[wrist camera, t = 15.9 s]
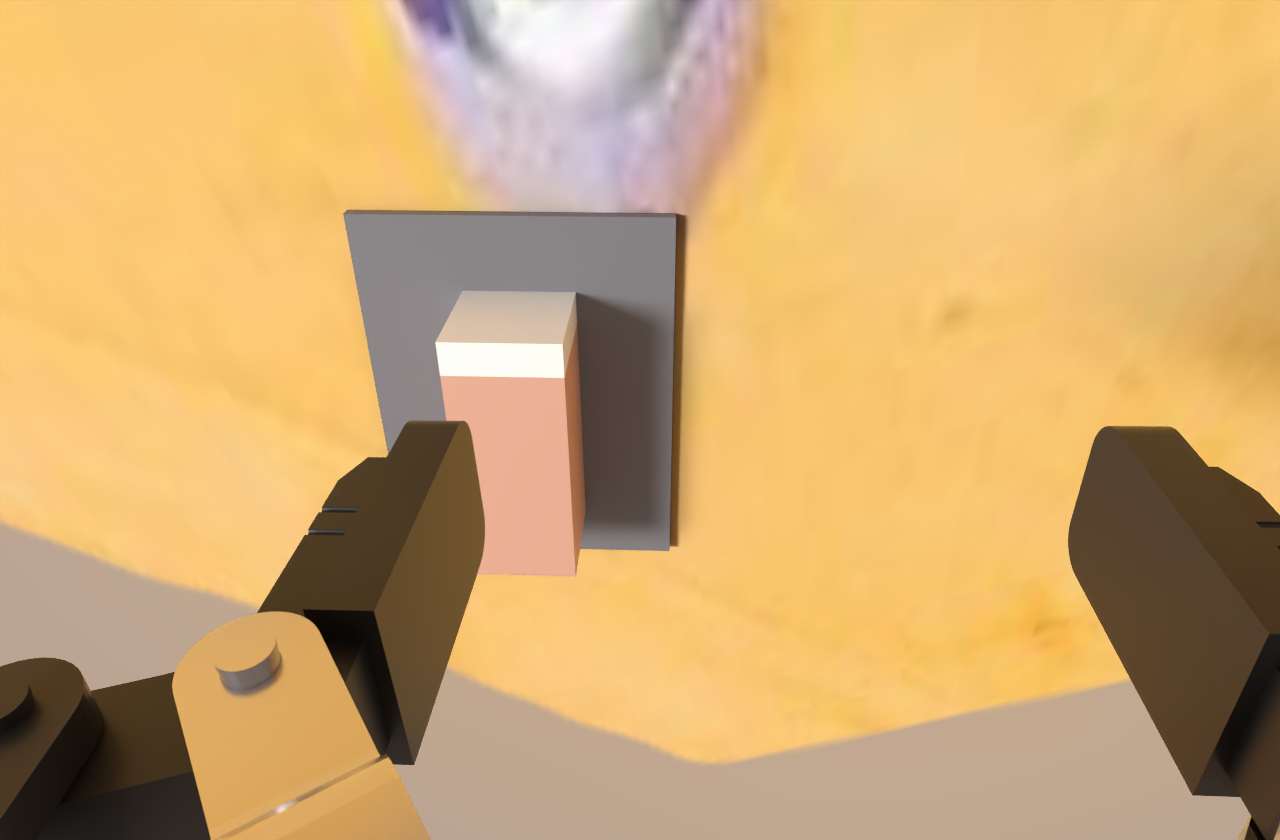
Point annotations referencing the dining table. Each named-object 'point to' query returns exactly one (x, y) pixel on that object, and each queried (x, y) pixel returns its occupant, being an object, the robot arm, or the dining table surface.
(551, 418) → the block
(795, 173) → the dining table surface
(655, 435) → the mat
